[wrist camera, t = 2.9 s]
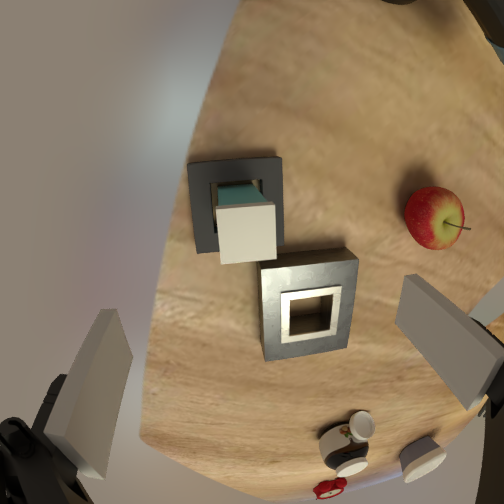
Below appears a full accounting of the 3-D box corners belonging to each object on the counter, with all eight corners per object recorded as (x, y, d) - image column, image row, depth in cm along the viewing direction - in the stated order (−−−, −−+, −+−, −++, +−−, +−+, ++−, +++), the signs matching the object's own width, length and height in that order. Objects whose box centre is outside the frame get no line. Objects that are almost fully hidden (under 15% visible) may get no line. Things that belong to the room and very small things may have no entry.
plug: (215, 184, 33) (215, 209, 21) (254, 181, 33) (275, 204, 22) (218, 221, 34) (221, 264, 23) (256, 218, 35) (276, 258, 23)
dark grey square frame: (189, 163, 31) (187, 164, 29) (277, 156, 32) (281, 157, 30) (197, 246, 35) (196, 253, 33) (279, 238, 36) (284, 245, 34)
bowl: (426, 446, 73) (438, 467, 63) (390, 464, 73) (401, 486, 62) (437, 427, 67) (451, 449, 57) (398, 447, 67) (411, 472, 56)
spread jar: (313, 442, 56) (326, 482, 45) (322, 416, 52) (339, 460, 41) (359, 432, 57) (375, 468, 46) (373, 404, 53) (394, 444, 42)
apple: (434, 232, 39) (477, 257, 29) (391, 239, 38) (434, 269, 29) (437, 180, 36) (485, 195, 26) (393, 182, 35) (442, 199, 26)
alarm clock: (312, 502, 69) (323, 497, 61) (309, 487, 75) (319, 480, 66) (340, 495, 71) (354, 489, 62) (336, 481, 76) (350, 473, 67)
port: (256, 256, 36) (261, 271, 32) (346, 247, 38) (360, 260, 34) (260, 343, 42) (265, 363, 38) (337, 331, 43) (347, 348, 39)
